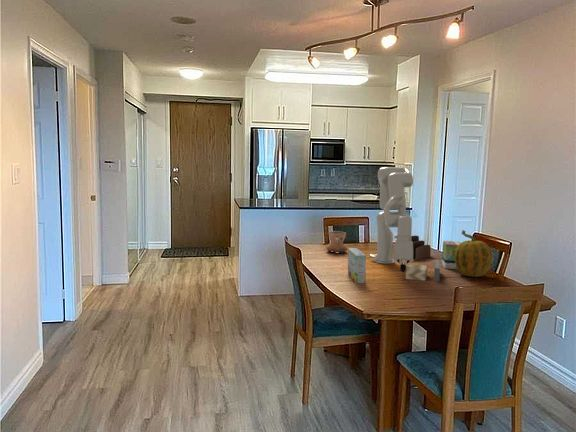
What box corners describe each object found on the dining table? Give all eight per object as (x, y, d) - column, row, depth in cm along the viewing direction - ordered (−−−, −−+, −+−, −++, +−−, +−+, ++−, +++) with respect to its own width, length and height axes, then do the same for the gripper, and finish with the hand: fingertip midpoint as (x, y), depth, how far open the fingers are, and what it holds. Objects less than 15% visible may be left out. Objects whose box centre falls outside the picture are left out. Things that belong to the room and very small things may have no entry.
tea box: (462, 269, 278) (463, 244, 277) (444, 268, 280) (445, 244, 279) (458, 264, 293) (459, 240, 291) (441, 263, 295) (442, 240, 293)
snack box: (346, 274, 264) (347, 247, 262) (356, 274, 264) (357, 247, 263) (355, 284, 243) (356, 255, 241) (366, 283, 243) (367, 255, 242)
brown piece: (347, 254, 321) (348, 234, 319) (326, 254, 322) (326, 233, 321) (346, 250, 338) (347, 230, 337) (326, 249, 340) (327, 230, 338)
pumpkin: (449, 271, 272) (451, 228, 270) (483, 272, 272) (485, 229, 269) (460, 279, 254) (462, 233, 251) (496, 280, 253) (499, 233, 251)
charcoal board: (434, 281, 250) (434, 268, 249) (434, 272, 271) (434, 260, 270) (439, 281, 249) (439, 268, 248) (438, 272, 270) (439, 260, 269)
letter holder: (402, 258, 310) (402, 237, 308) (417, 254, 324) (417, 234, 323) (415, 261, 303) (416, 239, 301) (430, 256, 317) (431, 235, 316)
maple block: (405, 279, 255) (406, 268, 254) (408, 274, 266) (408, 264, 265) (425, 281, 251) (425, 270, 250) (427, 276, 262) (427, 265, 262)
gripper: (389, 238, 256) (388, 272, 258) (418, 240, 252) (416, 274, 254) (390, 236, 264) (389, 269, 266) (418, 238, 259) (417, 271, 261)
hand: (402, 271), depth 260 cm, fingers closed
